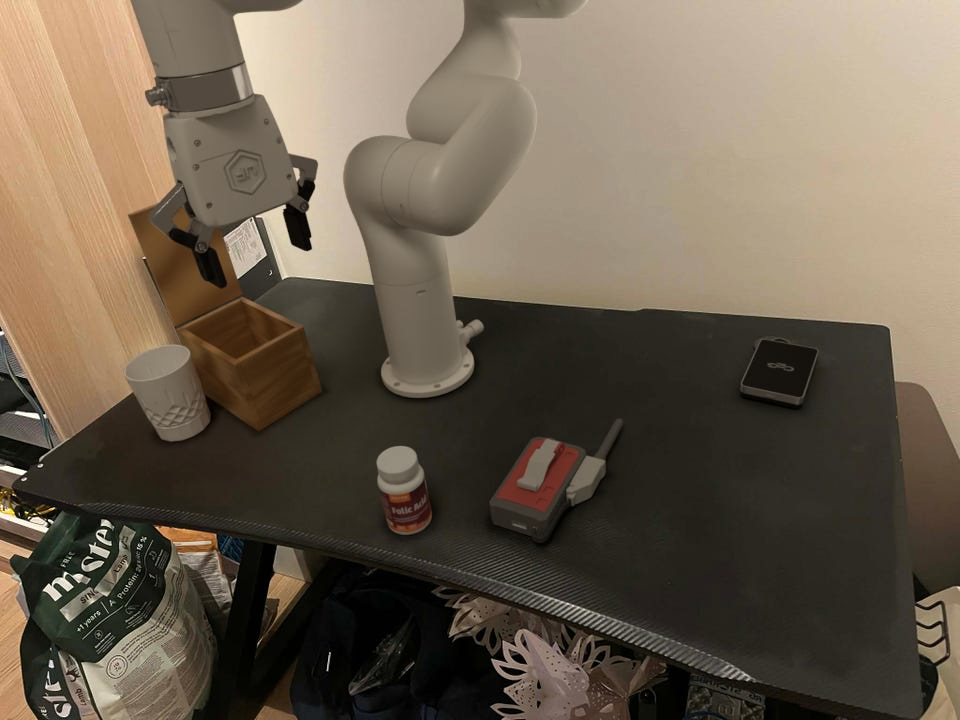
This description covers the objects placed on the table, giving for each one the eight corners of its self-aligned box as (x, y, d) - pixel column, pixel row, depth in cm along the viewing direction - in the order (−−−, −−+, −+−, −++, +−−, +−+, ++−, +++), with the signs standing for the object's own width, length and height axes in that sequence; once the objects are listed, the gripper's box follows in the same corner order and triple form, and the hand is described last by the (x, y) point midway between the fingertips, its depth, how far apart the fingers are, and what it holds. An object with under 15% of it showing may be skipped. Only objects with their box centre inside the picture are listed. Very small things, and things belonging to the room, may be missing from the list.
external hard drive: (817, 362, 89) (819, 348, 88) (800, 413, 81) (802, 399, 80) (759, 351, 92) (760, 338, 91) (737, 399, 84) (739, 386, 83)
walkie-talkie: (562, 558, 68) (629, 431, 82) (560, 526, 65) (630, 400, 79) (481, 531, 72) (558, 414, 86) (476, 500, 69) (557, 385, 83)
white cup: (195, 446, 88) (167, 381, 83) (140, 443, 90) (109, 379, 84) (226, 407, 95) (202, 344, 89) (174, 405, 96) (147, 343, 91)
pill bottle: (397, 543, 72) (382, 482, 67) (381, 514, 75) (365, 454, 71) (440, 524, 73) (428, 463, 68) (422, 496, 77) (409, 436, 72)
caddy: (322, 391, 95) (303, 326, 89) (258, 431, 89) (233, 364, 84) (263, 358, 104) (242, 296, 98) (201, 392, 98) (175, 329, 93)
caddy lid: (206, 186, 89) (185, 179, 93) (130, 215, 84) (110, 206, 87) (242, 294, 98) (222, 284, 101) (175, 327, 92) (155, 315, 95)
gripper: (126, 121, 55) (198, 311, 65) (313, 70, 65) (352, 243, 74) (93, 110, 60) (164, 289, 70) (272, 64, 69) (313, 227, 79)
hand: (261, 265), depth 72 cm, fingers open, 9 cm apart
